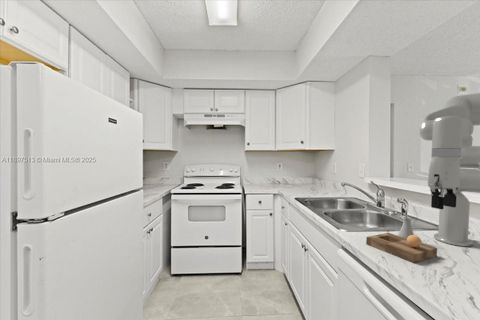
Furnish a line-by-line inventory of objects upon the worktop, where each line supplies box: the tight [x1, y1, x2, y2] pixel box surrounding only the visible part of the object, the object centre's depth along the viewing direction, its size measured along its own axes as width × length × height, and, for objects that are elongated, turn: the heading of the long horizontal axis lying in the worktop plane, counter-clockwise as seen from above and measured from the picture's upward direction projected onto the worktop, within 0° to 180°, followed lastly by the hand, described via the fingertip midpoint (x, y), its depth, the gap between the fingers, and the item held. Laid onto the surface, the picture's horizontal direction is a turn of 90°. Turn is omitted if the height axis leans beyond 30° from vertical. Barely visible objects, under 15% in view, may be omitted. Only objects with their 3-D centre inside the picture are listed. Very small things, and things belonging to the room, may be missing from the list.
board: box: [365, 232, 438, 264], centre depth 91 cm, size 14×18×3 cm
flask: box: [397, 216, 415, 238], centre depth 101 cm, size 7×7×10 cm
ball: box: [407, 234, 423, 248], centre depth 87 cm, size 4×4×4 cm
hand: (443, 207), depth 78 cm, fingers open, 6 cm apart
